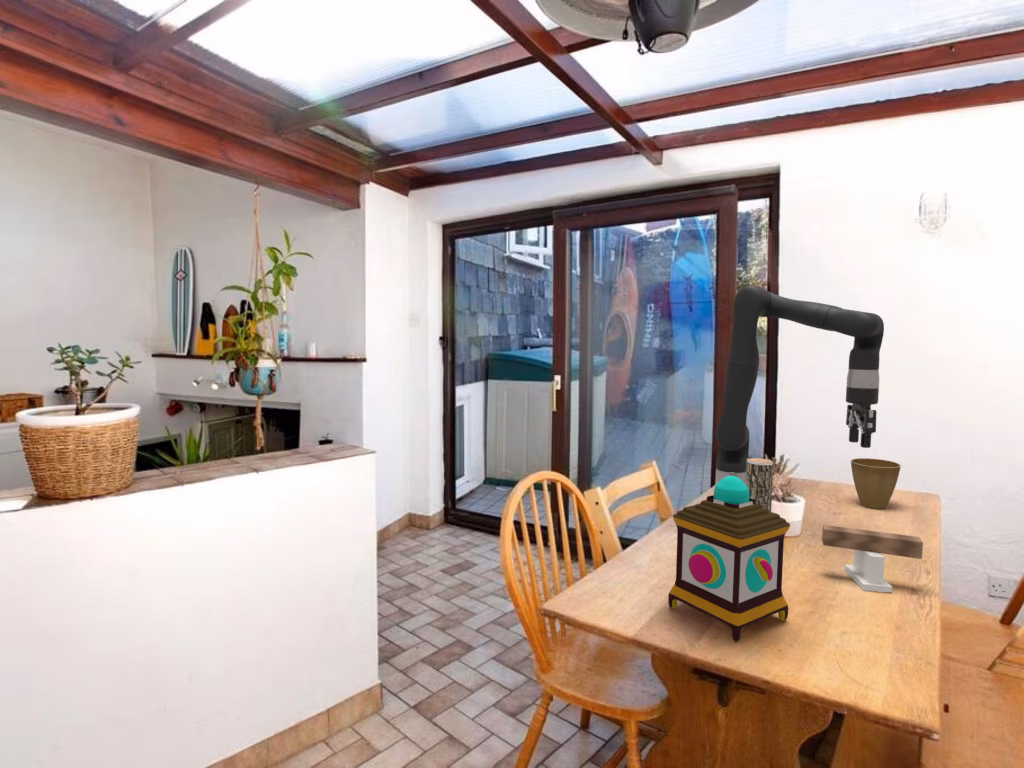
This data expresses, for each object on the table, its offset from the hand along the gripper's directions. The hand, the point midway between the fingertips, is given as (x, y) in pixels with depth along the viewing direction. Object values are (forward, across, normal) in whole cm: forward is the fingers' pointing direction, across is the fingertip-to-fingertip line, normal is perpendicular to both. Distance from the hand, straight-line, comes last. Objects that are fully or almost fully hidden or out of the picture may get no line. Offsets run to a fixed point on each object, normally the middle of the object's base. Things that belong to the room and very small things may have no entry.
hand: (859, 444), depth 152 cm
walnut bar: (+22, -21, +4) cm, 31 cm away
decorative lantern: (+30, -47, +40) cm, 69 cm away
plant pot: (+30, +50, -23) cm, 63 cm away
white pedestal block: (+30, -21, +4) cm, 37 cm away
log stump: (+30, -4, +26) cm, 40 cm away
